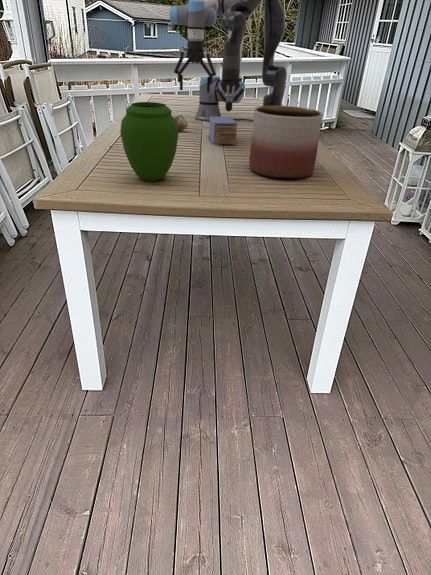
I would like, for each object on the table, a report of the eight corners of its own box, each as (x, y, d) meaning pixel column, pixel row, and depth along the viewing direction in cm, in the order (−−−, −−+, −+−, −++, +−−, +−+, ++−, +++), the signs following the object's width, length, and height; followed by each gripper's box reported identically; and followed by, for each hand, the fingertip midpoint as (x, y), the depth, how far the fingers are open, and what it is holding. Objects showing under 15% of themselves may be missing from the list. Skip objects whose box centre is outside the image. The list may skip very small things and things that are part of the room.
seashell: (187, 130, 219) (187, 114, 215) (188, 132, 214) (188, 116, 210) (169, 129, 218) (169, 113, 214) (170, 131, 213) (169, 115, 209)
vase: (131, 189, 135) (125, 110, 122) (118, 172, 150) (112, 100, 137) (186, 184, 142) (187, 109, 129) (169, 168, 157) (167, 99, 144)
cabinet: (235, 144, 197) (236, 123, 192) (213, 144, 195) (214, 122, 190) (229, 136, 210) (230, 116, 205) (209, 136, 209) (209, 116, 204)
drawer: (237, 146, 190) (238, 128, 186) (217, 146, 188) (218, 128, 184) (229, 136, 206) (230, 120, 202) (211, 136, 205) (212, 120, 201)
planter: (323, 180, 153) (335, 117, 141) (257, 181, 149) (264, 116, 137) (300, 162, 174) (309, 106, 162) (242, 162, 170) (247, 104, 158)
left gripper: (167, 38, 188) (168, 89, 199) (220, 41, 184) (218, 93, 195) (171, 38, 194) (172, 88, 205) (223, 41, 191) (221, 91, 202)
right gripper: (217, 67, 170) (215, 112, 179) (248, 68, 172) (244, 112, 181) (214, 66, 176) (212, 109, 186) (244, 67, 178) (241, 110, 188)
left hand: (194, 90), depth 200 cm, fingers open, 13 cm apart
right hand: (228, 111), depth 183 cm, fingers closed
